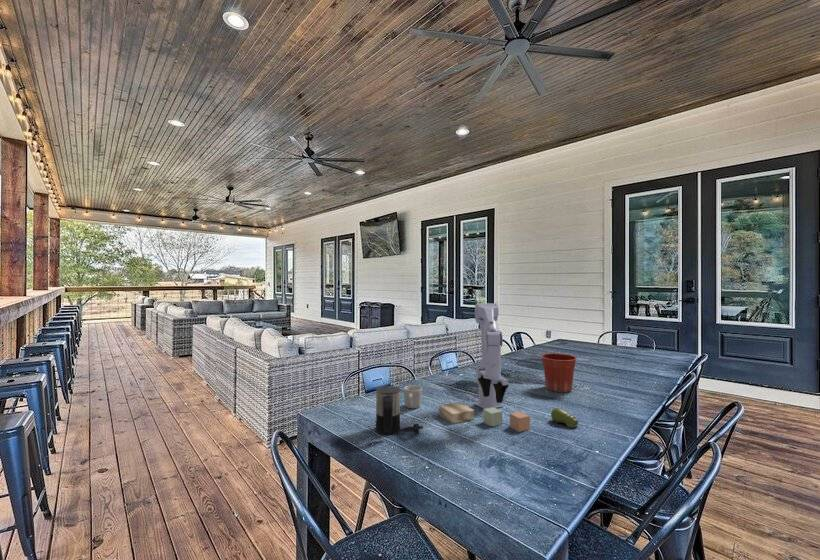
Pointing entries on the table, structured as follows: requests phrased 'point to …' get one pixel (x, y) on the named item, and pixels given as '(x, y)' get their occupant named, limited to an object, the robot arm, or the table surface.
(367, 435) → the table surface
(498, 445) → the table surface
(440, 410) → the base block
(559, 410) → the pear
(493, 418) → the sage cube
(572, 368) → the flower pot
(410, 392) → the cup
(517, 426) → the terracotta cube
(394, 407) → the milk frother
